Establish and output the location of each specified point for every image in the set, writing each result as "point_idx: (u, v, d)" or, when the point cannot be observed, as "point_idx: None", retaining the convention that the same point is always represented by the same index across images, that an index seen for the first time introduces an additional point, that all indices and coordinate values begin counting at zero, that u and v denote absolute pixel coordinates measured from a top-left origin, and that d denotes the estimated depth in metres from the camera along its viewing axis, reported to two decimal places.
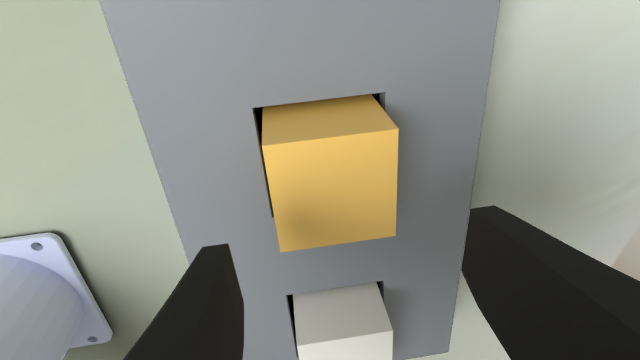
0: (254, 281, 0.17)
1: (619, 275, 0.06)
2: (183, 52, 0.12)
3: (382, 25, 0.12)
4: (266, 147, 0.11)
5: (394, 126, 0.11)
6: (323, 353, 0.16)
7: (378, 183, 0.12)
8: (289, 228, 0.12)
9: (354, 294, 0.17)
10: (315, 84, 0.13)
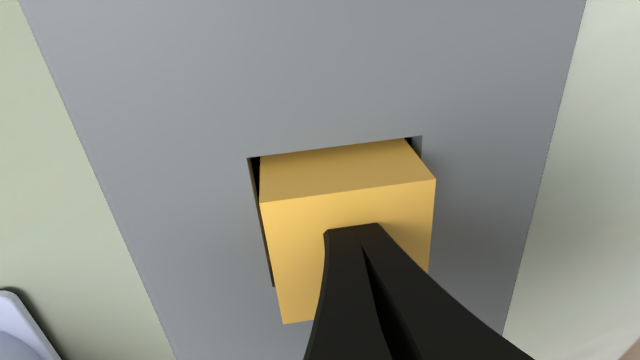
0: (250, 358, 0.14)
1: (450, 302, 0.06)
2: (150, 88, 0.08)
3: (423, 50, 0.09)
4: (265, 204, 0.08)
5: (430, 175, 0.09)
6: None
7: (407, 243, 0.09)
8: (294, 297, 0.10)
9: None
10: (330, 127, 0.09)
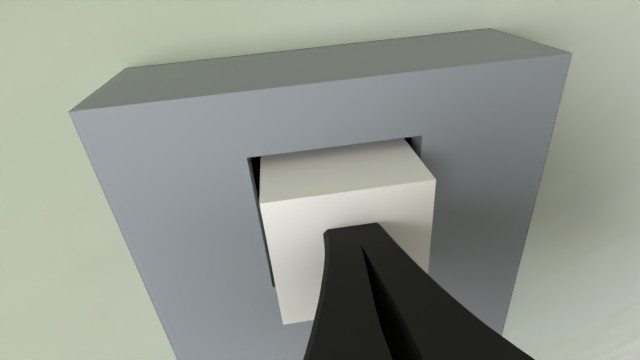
0: None
1: (450, 302, 0.06)
2: (231, 344, 0.13)
3: None
4: None
5: None
6: None
7: None
8: None
9: None
10: None
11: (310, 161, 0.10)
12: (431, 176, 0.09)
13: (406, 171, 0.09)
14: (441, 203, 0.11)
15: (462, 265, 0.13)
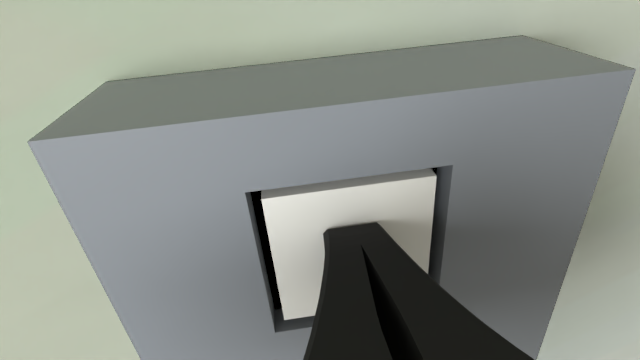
0: None
1: (450, 302, 0.06)
2: None
3: None
4: None
5: None
6: None
7: None
8: None
9: None
10: None
11: None
12: (432, 172, 0.09)
13: None
14: (471, 240, 0.10)
15: (491, 306, 0.11)
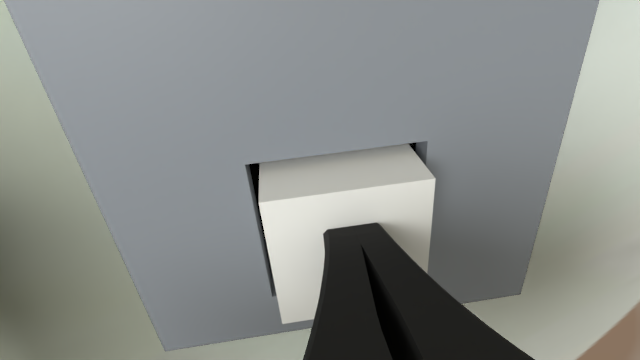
0: (180, 127, 0.09)
1: (450, 302, 0.06)
2: None
3: None
4: None
5: None
6: (308, 222, 0.09)
7: None
8: None
9: None
10: None
11: None
12: None
13: None
14: None
15: None
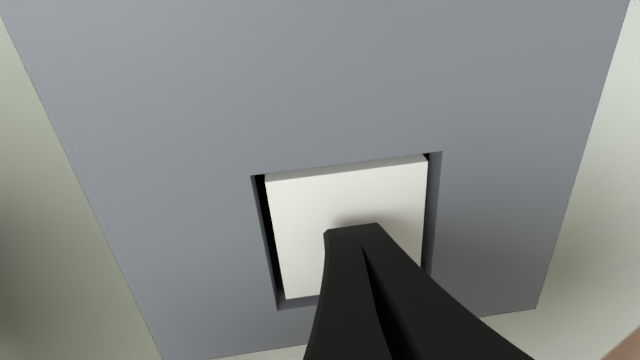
0: (181, 137, 0.08)
1: (450, 302, 0.06)
2: None
3: None
4: None
5: None
6: (310, 201, 0.09)
7: None
8: None
9: None
10: None
11: None
12: None
13: None
14: None
15: None
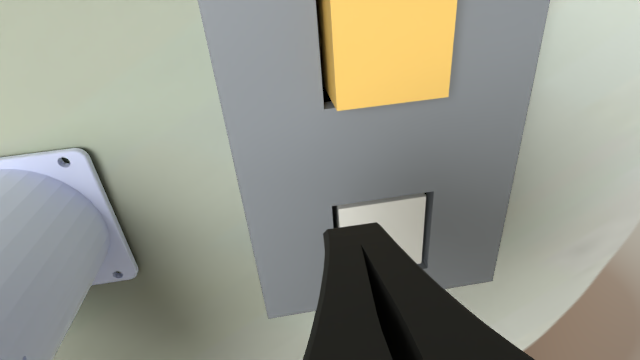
0: (300, 188, 0.16)
1: (450, 301, 0.06)
2: None
3: None
4: None
5: None
6: (361, 219, 0.17)
7: (436, 32, 0.12)
8: (347, 82, 0.13)
9: None
10: None
11: None
12: None
13: None
14: None
15: None
